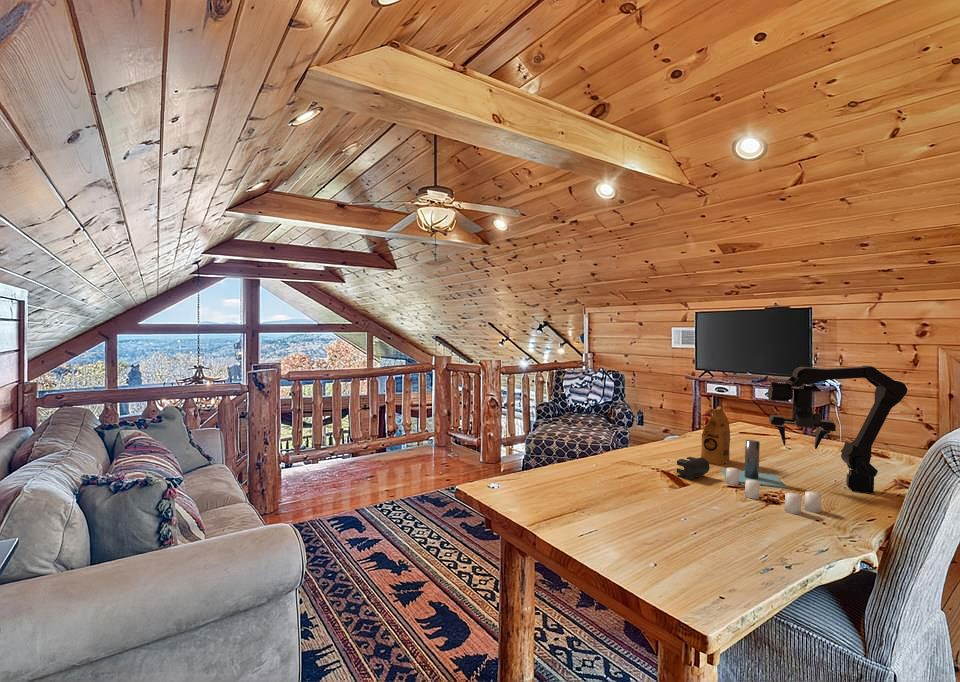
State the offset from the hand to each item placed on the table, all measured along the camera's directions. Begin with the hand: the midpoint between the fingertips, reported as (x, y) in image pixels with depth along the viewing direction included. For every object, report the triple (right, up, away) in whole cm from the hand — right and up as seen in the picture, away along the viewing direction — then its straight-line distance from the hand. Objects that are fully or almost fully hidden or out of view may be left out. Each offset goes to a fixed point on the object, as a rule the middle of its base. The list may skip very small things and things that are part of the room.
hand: (799, 446), depth 164 cm
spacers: (-20, -13, -13) cm, 27 cm away
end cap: (-35, -13, +6) cm, 38 cm away
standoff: (-14, -12, +5) cm, 19 cm away
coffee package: (-16, -12, +27) cm, 34 cm away
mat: (-14, -13, +5) cm, 19 cm away
